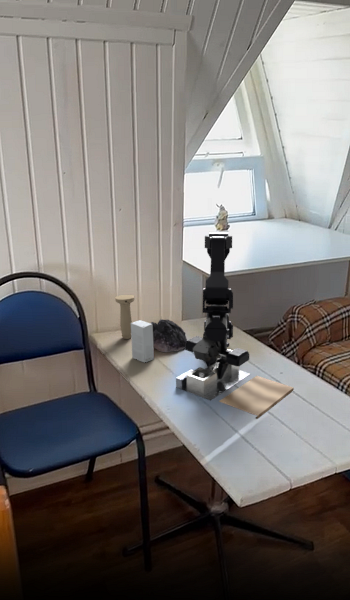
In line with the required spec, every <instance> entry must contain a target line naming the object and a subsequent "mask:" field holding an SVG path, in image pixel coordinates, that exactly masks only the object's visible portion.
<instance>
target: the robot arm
mask: <svg viewBox="0 0 350 600" xmlns="http://www.w3.org/2000/svg"><path fill="white" fill-rule="evenodd" d="M232 248H233V235H229V232H228V231H209V232H208V235H205V236H204V249H206V252H207V255H208V256H209V258H210V275H209V276H208V277H207V278H206V280H205V287H204V288H203V289H202V314H203V313H204V314H206V319H205V320H203V323H204V325H203V326H204V327H203V334H202V336H199V335H196V336H193V337H191V338H189V339H187V342H186V344H185V348H184V349H185V351H187V352H191V353H193V354H194V358H195V359H196V360H201V361H203V362H205V364H206V368H207V367H209V366H210V365H212V364H214V363H216V362H217V363H218V377H219V379H222V377H223V375H224V373H225V371H226V369H227V367H228V365H229V364H231V365H234V366H239V367H240V366H242V365H243V364H245V363H247V362H248V361H249V360H250V352H249V351H248V350H247V349H243V348H240V347H236V348H234V349H233V350H232V349H230V348H229V347H230V343H229V342H228V340H232V338H233V337H234V325H233V324H232V321H231V320H230V319H229V318H230V317H229V314H232V311H231V310H233V309H234V292H233V291H232V290H233V289H232V288H231V287H230V288H229V279H228V278H227V277H226V276H225V267H226V266H225V263H226V262H225V261H226V259H227V258H228V256H229V254H230V252H231V251H230V250H231V249H232ZM227 305H228V306H227ZM218 356H219V357H220V359H218V360H217V358H218Z"/></svg>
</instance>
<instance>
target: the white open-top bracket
mask: <svg viewBox="0 0 350 600" xmlns="http://www.w3.org/2000/svg"><path fill="white" fill-rule="evenodd" d="M218 359H220V356H219V357H216V361H217V360H218ZM193 370H194V371H192V372H190V373H189V374H187V390H190V391H193V392H196V393H198V394H201V395H206V394H207V393H209V392H210V391H212V390H214V389H215V388H217V382H218V381H220V380H221V379H219V377H218V363H217V362H216V363H214V364H212V365H210V366H209V367H207V366H206V367H205V368H203V367H200V366H199V367H198V368H195V369H193ZM239 370H240V366H234V365H231V364H229V365H228V367H227V369H226V371H225V373H224V375H223V377H222V379H223V378H224V377H226V376H227V375H228V376H231V377H232V376H233V375H235V374H236V373H238V372H239ZM199 373H204V379H202V378H199Z"/></svg>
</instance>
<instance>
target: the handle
mask: <svg viewBox="0 0 350 600" xmlns="http://www.w3.org/2000/svg"><path fill="white" fill-rule="evenodd" d="M114 299H115V300H114V301H115V302H116V303H117V304H119V305H120V306H119V309H120V310H119V311H120V314H119V315H120V319H119V320H120V322H119V323H120V331H121V337H122V339H123V340H129V339H131V323H133V320H132V311H131V310H132V309H131V303H133V302H134V301H135V295H134V294H121V295H120V294H119V295H116V296H115V297H114Z"/></svg>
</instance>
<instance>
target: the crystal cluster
mask: <svg viewBox="0 0 350 600" xmlns="http://www.w3.org/2000/svg"><path fill="white" fill-rule="evenodd" d="M150 323H151V324H153V348H154V349H155V350H157V351H159V352H162V353H168V352H169V353H170V352H179V351H182V350H184V349H185V344H186V342H187V341H188V339H187V336H186V332H185V331H184V329H183V328H182V327H181V326H179V325H178V324H177V323H175V322H174V321H172V320H169V319H159V320H158V322H154V321H151V322H150Z"/></svg>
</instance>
